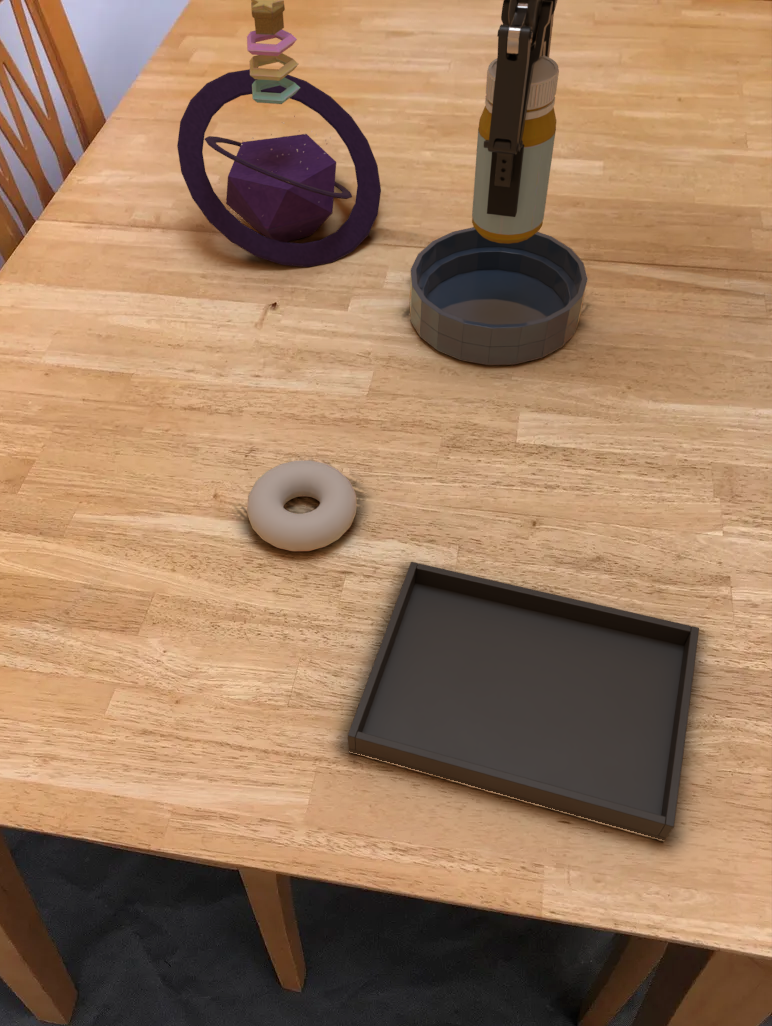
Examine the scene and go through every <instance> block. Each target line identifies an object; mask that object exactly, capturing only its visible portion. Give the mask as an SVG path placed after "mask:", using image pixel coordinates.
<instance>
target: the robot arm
mask: <svg viewBox="0 0 772 1026" xmlns="http://www.w3.org/2000/svg"><path fill="white" fill-rule="evenodd" d="M502 1H503V2H502V8H501V14H500V20H501V22H502V23H501V24H500V25H499V28H498V30H497V57H496V59H497V67H496V77H495V86H494V96H493V106H492V116H491V125H490V135H489V140H485V141H484V148H488V151H489V152H492V158H491V170H490V182H489V193H488V205H487V214H493V215H501V216H509V217H515V216H516V213H517V206H518V197H519V188H520V179H521V170H522V161H523V153H524V145H523V141H522V138H523V132H524V125H525V119H526V113H527V106H528V100H529V94H530V87H531V81H532V75H533V69H534V64H535V63H536V62H537V61H539V60H540V58H541V56H543V55H544V56H547V57H549V58H550V52H551V45H552V35H553V28H554V18H555V17H554V16H555V12H556V7H557V4H558V0H502Z"/></svg>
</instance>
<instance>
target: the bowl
mask: <svg viewBox="0 0 772 1026" xmlns="http://www.w3.org/2000/svg"><path fill="white" fill-rule="evenodd" d="M409 276H410V277H409V279H410V282H409V318H410V319H409V320H410V323H411V325H412V326H413V327H414V329H415V331H416V333H417V334H418V336H419V338H420V339H422V340H423V341H425V342H426V343H427V344H428V345H430V346H431V347H432V348H433V349H435V350H436V351H438V352H440V353H442V354H444V355H447V356H449V357H452V358H454V359H457V360H459V361H464V362H468V363H473V364H480V365H486V366H504V365H507V366H508V365H518V364H523V363H527V362H531V361H534V360H535V361H536V360H538V359H543V358H545V357H546V356H548V355H550V354H552V353H554V352H556V351H557V350H559V349H561V348H563V347H564V346H565V345H566V344H567V342H569V340H570V339H571V338H572V337H573V336H574V335H575V334H576V332H577V329H578V326H579V322H580V319H581V314H582V310H583V305H584V300H585V296H586V291H587V284H588V281H589V280H588V279H589V277H588V275H587V271H586V267H585V264H584V262H583V261H582V259H581V258H580V257H579V256H578V255H577V253H576V252H575V251H574V249H572V247H570V246H568V245H566V244H565V243H563V242H562V241H560V240H558V239H557V238H555V237H554V236H552V235H548V234H546V233H543V232H540V231H538V232H537V233H535V234H534V235H533V236H532V237H530V238H529V239H527V240H524V241H521V242H518V243H510V244H507V243H497V242H493V241H490V240H488V239H486V238H484V237H482V236H481V235H480V234H479V233H478V232H477V230H476V229H475V228H474V226H471V227H468V228H463V229H458V230H455V231H451V232H448V233H446V234H445V235H442V236H441V237H438V238H436V239H434V240H432V241H431V242H429V244H428V245H427V246H425V247H424V248H423V249H422V250H421V251H419V253H417V255H416V257H415V259H414V261H413V263H412V265H411V268H410V275H409Z"/></svg>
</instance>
